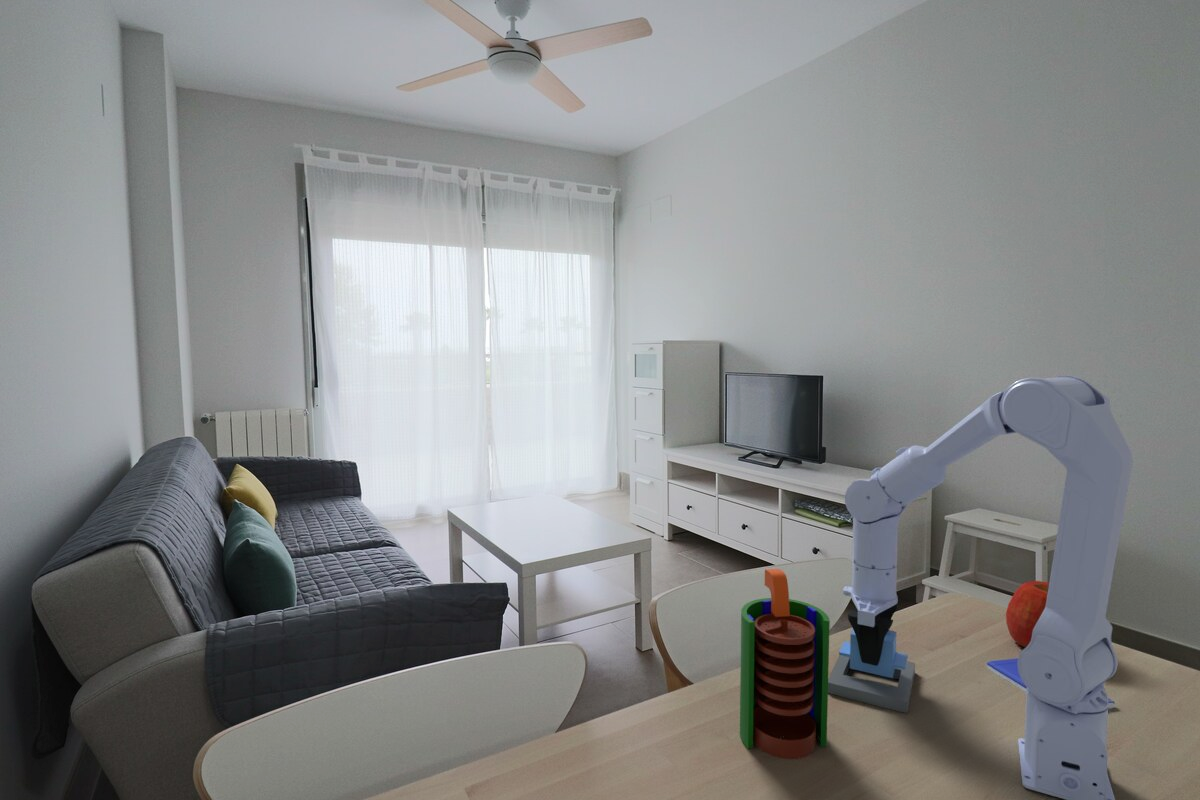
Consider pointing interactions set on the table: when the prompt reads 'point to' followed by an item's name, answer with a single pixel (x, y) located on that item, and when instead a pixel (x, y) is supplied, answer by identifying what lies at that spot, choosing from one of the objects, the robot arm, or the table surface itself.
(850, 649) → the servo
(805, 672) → the motor
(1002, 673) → the hard drive
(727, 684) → the table surface
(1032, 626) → the apple
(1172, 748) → the table surface
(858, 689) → the grey flat frame
